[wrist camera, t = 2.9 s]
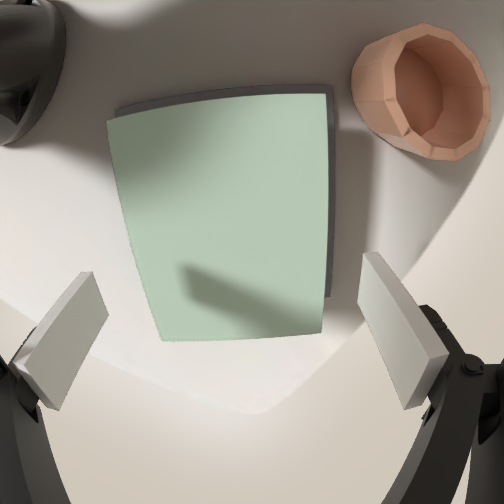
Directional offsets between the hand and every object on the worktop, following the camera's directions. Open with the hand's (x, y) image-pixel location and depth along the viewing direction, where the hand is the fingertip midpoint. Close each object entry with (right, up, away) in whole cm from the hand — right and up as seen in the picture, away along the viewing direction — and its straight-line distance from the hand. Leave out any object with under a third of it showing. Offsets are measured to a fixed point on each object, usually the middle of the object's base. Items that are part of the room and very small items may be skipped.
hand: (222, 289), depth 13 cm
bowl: (+13, +14, +5) cm, 20 cm away
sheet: (0, +3, +5) cm, 6 cm away
